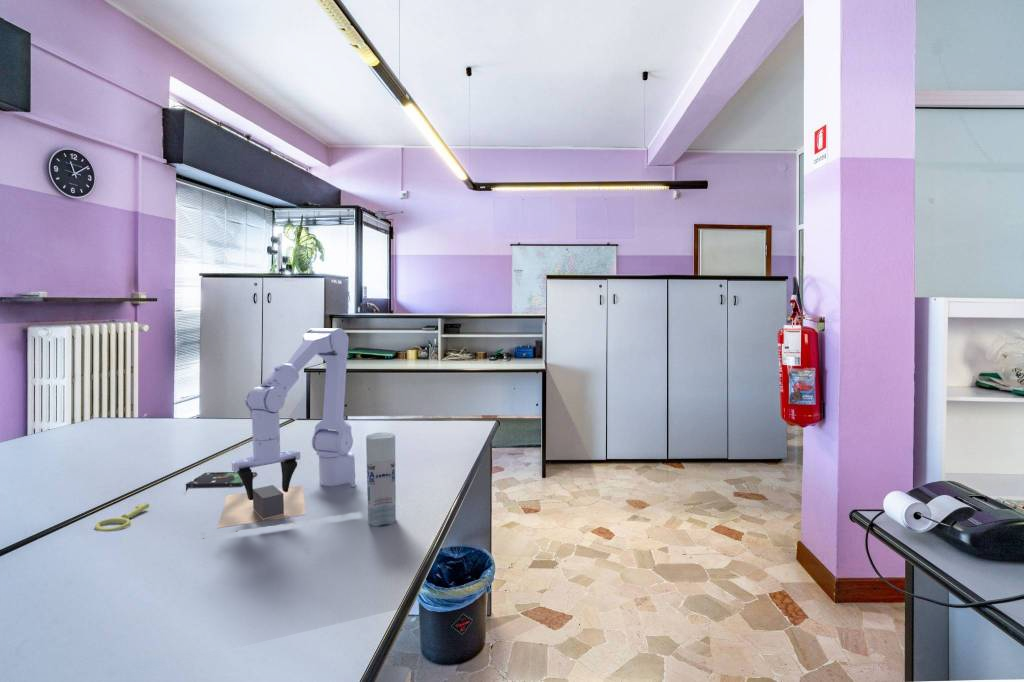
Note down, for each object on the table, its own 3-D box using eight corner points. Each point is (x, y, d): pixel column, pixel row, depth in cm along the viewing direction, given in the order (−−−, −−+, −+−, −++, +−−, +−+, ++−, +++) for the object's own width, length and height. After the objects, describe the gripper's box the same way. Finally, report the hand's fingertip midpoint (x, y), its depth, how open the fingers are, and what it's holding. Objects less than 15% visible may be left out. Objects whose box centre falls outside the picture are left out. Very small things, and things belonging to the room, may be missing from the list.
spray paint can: (365, 517, 120) (364, 433, 119) (393, 513, 123) (392, 431, 122) (369, 528, 114) (368, 440, 113) (398, 523, 117) (397, 437, 116)
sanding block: (273, 505, 125) (272, 484, 124) (283, 514, 119) (283, 493, 118) (253, 509, 122) (252, 489, 121) (263, 519, 116) (262, 498, 115)
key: (151, 510, 126) (150, 502, 126) (125, 531, 114) (124, 522, 114) (117, 513, 124) (117, 504, 124) (87, 534, 112) (87, 525, 112)
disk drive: (185, 494, 137) (242, 492, 139) (184, 484, 137) (242, 482, 139) (205, 481, 148) (258, 479, 149) (204, 472, 148) (257, 470, 149)
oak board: (302, 489, 139) (302, 485, 139) (306, 519, 119) (306, 514, 119) (227, 499, 132) (226, 495, 132) (217, 533, 112) (217, 527, 112)
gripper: (292, 429, 127) (294, 483, 128) (227, 439, 117) (229, 497, 118) (302, 435, 122) (304, 491, 123) (235, 445, 112) (237, 506, 113)
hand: (268, 494), depth 120 cm, fingers open, 7 cm apart
